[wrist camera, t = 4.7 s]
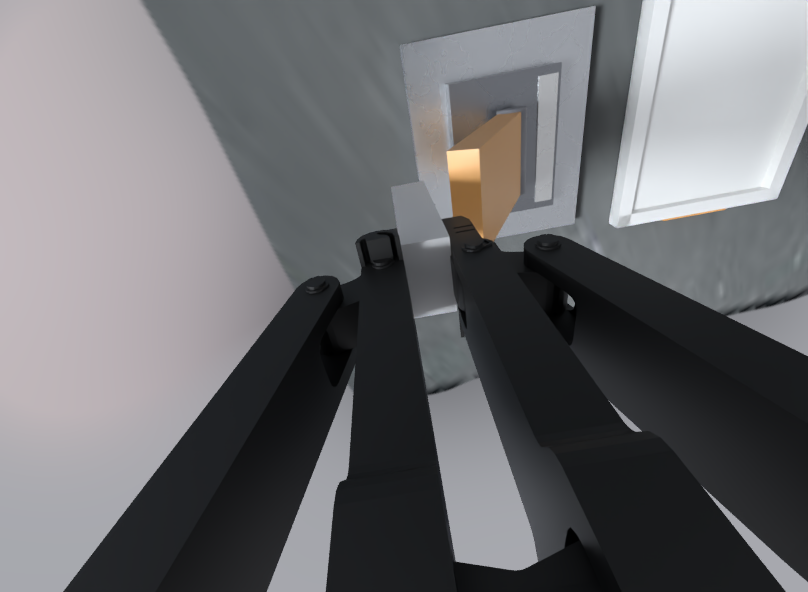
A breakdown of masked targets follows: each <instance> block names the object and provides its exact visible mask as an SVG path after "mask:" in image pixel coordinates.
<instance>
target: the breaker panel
mask: <svg viewBox="0 0 808 592" xmlns="http://www.w3.org/2000/svg"><path fill="white" fill-rule="evenodd" d="M595 8H596V6H592V7H587V8H582V9H577V10H572V11H567V12H562V13H557V14H552V15H547V16H542V17H537V18H532V19H527V20H522V21H517V22H512V23H507V24H502V25H497V26H492V27H487V28H482V29H477V30H473V31H468V32H463V33H458V34H453V35H448V36H443V37H438V38H433V39H428V40H423V41H418V42H413V43H408V44H403V45H400V46H399V47H400V54H401V61H402V68H403V75H404V82H405V89H406V96H407V103H408V110H409V117H410V124H411V131H412V138H413V145H414V152H415V159H416V166H417V173H418V180H419V182H420V181H424V183H425V185H426V187H427V190H428V192H429V194H430V196H431V198H432V200H433V202H434V205H435V207H436V209H437V211H438V213H439V215H440V217H441V219H445V218H450V217H453V212H452V202H451V192H450V181H449V171H448V161H447V151H448V150H449V149H450V148H452V147H453V146H455V145H456V144H457V143H459V142H460V141H461V140H463V139H464V138H466V137H467V136H468V135H470V134H471V133H472V132H474V131H475V130H477V129H478V128H479V127H481V126H482V125H484V124H485V123H486V122H488V121H489V120H490V119H492V118H493V117H495V116H496V111H498V110H501V109H505V108H511V107H518V106H526V107H527V142H526V192H525V194H523V195H521V196H519V198H518V200H517V202H516V203H515V205H514V207H513V209H512V210H511V212H510V214H509V216H508V217H507V219H506V221H505V223H504V224H503V226H502V228H501V230H500V231H499V233H498V235H497V237H496V238H499V237H505V236H510V235H515V234H521V233H526V232H532V231H537V230H543V229H548V228H554V227H559V226H564V225H570V224H574V223H575V213H576V203H577V192H578V182H579V172H580V162H581V151H582V141H583V131H584V121H585V111H586V100H587V90H588V80H589V70H590V59H591V49H592V39H593V29H594V19H595Z"/></svg>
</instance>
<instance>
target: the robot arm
mask: <svg viewBox="0 0 808 592" xmlns="http://www.w3.org/2000/svg"><path fill="white" fill-rule="evenodd" d="M391 190H392V197H393V204H394V210H395V217H396V224H397V228H395V229H390V230H381V231H375V232H371V233H368V234H366V235H363V236H362V237H360V238H359V239H357V241H356V243H355V244H356V248H357V252H358V256H359V259H360V263H361V267H362V269H361V276H360V277H358V278H356V279H355V280H353V281H350V282H348V283H345V284H342V285H340V282H339V280H338V279H337V278H336V277H333V276H317V277H314V278H310V279H308V280H307V281H306V282H304V283H302V284H301V285H300V286H299V287H298V288H297V289H296V290H295V291H294V292H293V294H292V295H291V296H290V298H289V299H288V300H287V302H286V303H285V304H284V306H283V307H282V308H281V310H280V311H279V312H278V313H277V315H276V316H275V317H274V318H273V320H272V321H271V322H270V324H269V325H268V326H267V328H266V329H265V330H264V331H263V333H262V334H261V335H260V337H259V338H258V339H257V341H256V342H255V343H254V344H253V346H252V347H251V348H250V350H249V351H248V353H247V354H246V355H245V356H244V358H243V359H242V360H241V361H240V363H239V364H238V365H237V367H236V368H235V369H234V370H233V372H232V373H231V374H230V376H229V377H228V378H227V380H226V381H225V382H224V383H223V385H222V386H221V388H220V389H219V390H218V391H217V393H216V394H215V395H214V397H213V398H212V399H211V400H210V402H209V403H208V404H207V406H206V407H205V408H204V409H203V411H202V412H201V413H200V415H199V416H198V417H197V419H196V420H195V421H194V422H193V424H192V425H191V426H190V428H189V429H188V430H187V432H186V433H185V434H184V436H183V437H182V438H181V439H180V441H179V442H178V443H177V445H176V446H175V447H174V448H173V450H172V451H171V453H170V454H169V455H168V456H167V458H166V459H165V460H164V462H163V463H162V464H161V465H160V467H159V468H158V469H157V471H156V472H155V473H154V474H153V476H152V477H151V478H150V480H149V481H148V482H147V484H146V485H145V486H144V487H143V489H142V490H141V491H140V493H139V494H138V495H137V497H136V498H135V499H134V500H133V502H132V503H131V505H130V506H129V507H128V508H127V510H126V511H125V512H124V514H123V515H122V516H121V517H120V519H119V520H118V521H117V523H116V524H115V525H114V526H113V528H112V529H111V530H110V532H109V533H108V534H107V536H106V537H105V538H104V539H103V541H102V542H101V543H100V545H99V546H98V547H97V549H96V550H95V551H94V553H93V554H92V555H91V557H90V558H89V559H88V561H87V562H86V563H85V564H84V565H83V567H82V568H81V569H80V571H79V572H78V573H77V575H76V576H75V577H74V579H73V580H72V581H71V582H70V584H69V585H68V586H67V588H66V589H65V590H64V591H63V592H267V589H268V586H269V584H270V582H271V579H272V576H273V574H274V571H275V569H276V566H277V563H278V561H279V558H280V556H281V553H282V551H283V548H284V546H285V543H286V541H287V538H288V535H289V533H290V530H291V528H292V525H293V523H294V520H295V517H296V515H297V512H298V510H299V507H300V504H301V502H302V499H303V497H304V494H305V492H306V489H307V486H308V484H309V481H310V479H311V476H312V473H313V471H314V468H315V466H316V463H317V461H318V458H319V456H320V453H321V450H322V448H323V445H324V443H325V440H326V437H327V435H328V432H329V430H330V427H331V425H332V422H333V420H334V417H335V414H336V412H337V409H338V406H339V404H340V401H341V399H342V396H343V394H344V391H345V389H346V386H347V384H348V381H349V378H350V376H351V373H352V371H353V368H354V366H355V379H354V395H353V411H352V427H351V442H350V458H349V471H348V476H347V479H346V480H344V481H341V482H340V483H339V485H338V487H337V490H336V495H335V502H334V510H333V521H332V531H331V542H330V553H329V563H328V574H327V586H326V592H785V590H784V589H783V588H782V586H781V585H780V584H779V583H778V582H777V580H776V579H775V578H774V576H773V575H772V574H771V573H770V571H769V570H768V569H767V568H766V566H765V565H764V564H763V563H762V561H761V560H760V559H759V558H758V556H757V555H756V554H755V553H754V551H753V550H752V549H751V547H750V546H749V545H748V544H747V542H746V541H745V540H744V539H743V538H742V536H741V535H740V534H739V532H738V531H737V530H736V529H735V527H734V526H733V525H732V524H731V522H730V521H729V520H728V519H727V517H726V516H725V515H724V514H723V512H722V511H721V510H720V509H719V507H718V506H717V505H716V504H715V502H714V501H713V500H712V498H711V497H710V496H709V495H708V493H707V492H706V491H705V490H704V489H703V487H704V488H705V489H706V490H707V491H708V492H709V493H710V494H711V495H712V496H713V497H715V498H716V499H717V500H718V501H719V502H720V503H721V504H722V505H723V506H724V507H725V508H727V509H728V510H729V511H730V512H731V513H732V514H733V515H734V516H735V517H736V518H737V519H739V520H740V521H741V522H742V523H743V524H744V525H745V526H746V527H747V528H748V529H749V530H750V531H752V532H753V533H754V534H755V535H756V536H757V537H758V538H759V539H760V540H761V541H763V542H764V543H765V544H766V545H767V546H768V547H769V548H770V549H771V550H772V551H774V553H776V554H777V555H778V556H779V557H780V558H781V559H782V560H784V562H786V563H787V564H788V565H789V566H790V567H791V568H792V569H794V570H795V571H796V572H797V573H798V574H799V575H800V576H802V577H803V578H804V579H805V580H806V581H807V582H808V356H806V355H804V354H802V353H800V352H798V351H796V350H794V349H792V348H790V347H788V346H786V345H784V344H782V343H779V342H778V341H775V340H774V339H771V338H769V337H767V336H765V335H763V334H761V333H759V332H757V331H755V330H753V329H751V328H749V327H747V326H745V325H743V324H741V323H739V322H737V321H735V320H733V319H731V318H729V317H727V316H725V315H723V314H720V313H718V312H716V311H714V310H712V309H710V308H708V307H706V306H704V305H702V304H700V303H698V302H696V301H694V300H692V299H690V298H688V297H686V296H684V295H682V294H680V293H678V292H676V291H674V290H672V289H670V288H667V287H665V286H663V285H661V284H659V283H657V282H655V281H653V280H651V279H649V278H647V277H645V276H643V275H641V274H639V273H637V272H635V271H633V270H631V269H629V268H627V267H625V266H623V265H621V264H619V263H617V262H614V261H612V260H610V259H608V258H606V257H604V256H602V255H600V254H598V253H596V252H594V251H592V250H590V249H588V248H586V247H584V246H582V245H580V244H578V243H576V242H574V241H572V240H570V239H568V238H565V237H562V236H556V235H553V234H547V235H546V234H544V235H540V236H536V237H532V238H530V239H528V240H527V241H526V242H525V243H524V252H503V251H501V250H500V249H499V248H498V246H497V245H496V243H494V242H493V241H492V240H489V239H486V238H482V237H481V236H480V234H479V233H478V231H477V230H476V228H475V227H474V225H473V224H472V222H471V221H470V219H468V218H466V217H463V216H456V217H450V218H445V219H441V217H440V215H439V213H438V211H437V209H436V207H435V205H434V202H433V200H432V198H431V196H430V194H429V192H428V190H427V187H426V185H425V183H424V181H420V182H415V183H410V184H404V185H399V186H393V187H391ZM568 294H569V295H570V296H571V297H572V299H573V300H574V302H575V306H574V307H572V306H570V305H569V304H568V303H567V299H568ZM456 301H457V304H458V310H459V320H460V330H461V337H466V340H467V343H468V346H469V349H470V351H471V354H472V357H473V360H474V363H475V366H476V369H477V372H478V375H479V378H480V381H481V383H482V386H483V389H484V392H485V395H486V398H487V401H488V404H489V407H490V410H491V412H492V415H493V418H494V421H495V424H496V427H497V430H498V433H499V436H500V439H501V442H502V444H503V447H504V450H505V453H506V456H507V459H508V461H509V465H510V467H511V470H512V473H513V476H514V479H515V482H516V485H517V488H518V491H519V494H520V497H521V500H522V503H523V505H524V508H525V511H526V514H527V517H528V520H529V523H530V526H531V529H532V533H533V537H534V541H535V546H536V552H537V557H538V562H537V563H535V564H533V565H532V566H530V567H528V568H526V569H523V570H517V571H514V570H506V569H500V568H493V567H487V566H480V565H473V564H467V563H460V562H456V561H455V555H454V550H453V545H452V538H451V533H450V527H449V520H448V515H447V509H446V503H445V497H444V491H443V486H442V479H441V474H440V467H439V461H438V455H437V449H436V444H435V438H434V432H433V426H432V421H431V415H430V408H429V402H428V396H427V390H426V384H425V378H424V372H423V366H422V361H421V355H420V349H419V343H418V337H417V331H416V325H415V320H414V318H420V317H425V316H431V315H437V314H442V313H448V312H454V311H457V307H456ZM608 400H609V401H610V402H611V403H612V404H613V405H615V407H616V408H618V409H619V410H620V411H621V412H622V413H623V414H624V415H625V416H626V417H627V418H628V419H630V420H631V421H632V422H633V423H634V424H635V425H636V426H637V427H638V428H639V429H640V430H641V431H642V432H635V431H633V430H631V429H630V428H629V427H628V426H627V425H626V424H625V423H624V422H623V420H622V419H621V418H620V416H619V415H618V413H617V412H616V411H615V409H614V408H613V406H612V405H611V404H610V402H609V401H608Z"/></svg>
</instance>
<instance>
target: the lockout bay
mask: <svg viewBox="0 0 808 592" xmlns="http://www.w3.org/2000/svg"><path fill="white" fill-rule="evenodd" d="M807 124H808V0H643V2H642V8H641V15H640V21H639V28H638V34H637V41H636V47H635V54H634V61H633V67H632V74H631V80H630V87H629V93H628V100H627V106H626V113H625V119H624V126H623V133H622V139H621V146H620V152H619V159H618V165H617V172H616V178H615V185H614V191H613V198H612V205H611V211H610V218H609V224H611V225H613V226H614V227H616V228H620V227H626V226H631V225H637V224H642V223H648V222H653V221H659V220H663V221H666V220H671V219H677V218H682V217H688V216H693V215H699V214H704V213H710V212H715V211H721V210H725V208H730V207H735V206H740V205H746V204H751V203H757V202H762V201H768V200H773V199H777V198H778V195H779V193H780V190H781V188H782V186H783V183H784V181H785V178H786V176H787V173H788V171H789V168H790V166H791V163H792V161H793V159H794V156H795V154H796V151H797V149H798V146H799V144H800V141H801V139H802V136H803V134H804V132H805V129H806V127H807Z"/></svg>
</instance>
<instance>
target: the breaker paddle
mask: <svg viewBox="0 0 808 592" xmlns="http://www.w3.org/2000/svg"><path fill="white" fill-rule="evenodd" d="M526 142H527V107H526V106H518V107H511V108H505V109H501V110H498V111H496V116H495V117H493V118H492V119H490V120H489V121H488V122H486V123H485V124H484V125H482V126H481V127H479V128H478V129H477V130H475V131H474V132H472V133H471V134H470V135H468V136H467V137H466V138H464V139H463V140H461V141H460V142H459V143H457V144H456V145H455V146H453V147H452V148H450V149H449V150H448V151H447V161H448V171H449V181H450V192H451V202H452V212H453V217H456V216H463V217H466V218H468V219H470V221H471V222H472V224H473V225H474V227H475V228H476V230H477V231H478V233H479V234H480V236H481V237H482V238H486V239H489V240H492V241H493V242H494V240H495V238H496V237H497V235H498V233H499V231H500V230H501V228H502V226H503V224H504V223H505V221H506V219H507V217H508V216H509V214H510V212H511V210H512V209H513V207H514V205H515V203H516V202H517V200H518V198H519V196H521V195H523V194H525V192H526Z"/></svg>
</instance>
